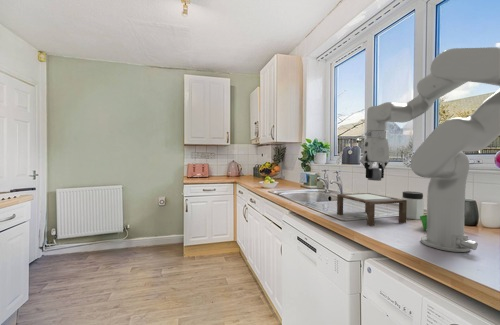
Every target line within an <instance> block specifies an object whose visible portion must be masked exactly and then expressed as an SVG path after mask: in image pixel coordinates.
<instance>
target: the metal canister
mask: <svg viewBox="0 0 500 325" xmlns="http://www.w3.org/2000/svg"><path fill="white" fill-rule="evenodd" d="M371 169H373V175H372V178H371V179H370V178H367V180H368V181H377V182H378V181H382V178H381V175H382V168H378V167H372V168H371Z"/></svg>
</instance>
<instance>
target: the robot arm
mask: <svg viewBox="0 0 500 325" xmlns="http://www.w3.org/2000/svg"><path fill="white" fill-rule="evenodd" d="M429 69H430V73H429V74H428V75H426V76H424V77H423V78H421V79H420V80H419V81H418V82H417V85H416V90H417V92H418V95H417V96H415V97H414V98H412V99H411V100H409V101H407V102H406V103H403V102H394V101H393V102H392V101H388V102H384V103H380V104H379V105H373V106H370V107H368V108H367V109H366V110H367V111H366V131H365V133H364V135H365V139H364V143H363V150H362V157H361V158H360V160H359V161H360V163H361V164H362V166H364V169H365V178H366V179H368V178H370V179H371V178H372V175H373V169H371V168H373V163H377V168H382V175H381V179H384V178H385V177H384V175H385V169H386V168H387V165H388V164H389V163H390V161H391V160H390V150H389V149H390V147H389V146H390V145H389V140H388V139H387V125H388V122H389V123H408V122H410V121H413V120H414V119H415V120H416V119H417V118H418V117H420V116H422V115H424V114H425V113H427V111H428V110H430V108H432V106H433V105H434V103H435V102H436V101H437V100H439V99H440V98H442V97H444V96H445V95H447V94H449V93H451V92H452V91H454V90H456V89H458V88H459V87H461V86H463V85H465V84H466V83H469V82H470V83H479V84H484V85H485V84H486V85H491V86H497V87H498V86H499V87H500V47H499V46H497V47H493V46H491V47H461V48H460V47H456V48H450V49H449V48H447V49H446V50H444V51H441V52H440V53H439V54H437V56H435V57H434V59H433V60H432V62H431V64H430V68H429ZM499 136H500V88H499V89H498V90H497V91H496V92H495V93H494V94H492V95H490V96H489V97H487V98H486V99H485V100H484V101H483V102H482V103H481V104H480V105H479V106H478V107H477V108H476V109H475V110H474V111H473V112H472V113H471V114H470V115H469V116H468V117H453V118H449V119H447V120H444V121H442V122H441V123H440V124H439V125H437V126H436V127H435V128H434V130H432V132H431V133H430V134H429V135H427V137H426V139H424V140H423V142H422V143H420V145H419V146H418V147H417V149H416V150H415V151H414V153H413V155H412V156H411V159H410V168H411V170H412V172H413V173H414V174H415V175H417V176H419V178H420V177H421V178H427V179H429V182H428V187H427V193H426V194H427V195H426V206H427V207H426V215H427V230H426V235H423V236H422V237H421V238H420V242H421V243H422V244H423V245H425V246H427V247H430V248H433V249H436V250H437V249H438V250H442V251H446V252H454V253H455V252H456V253H467V252H470V251H471V250H472V251H476V250H477V248H478V242H477V241H472V240H470V239H469V235H468V234H466V233H465V210H466V208H465V206H466V205H465V204H466V202H465V201H466V186H467V185H466V184H467V180H468V174H469V170H470V160H469V158H468V155H466V153H468V152H469V153H470V152H471V153H472V152H479V151H483V150H484V149H486V148H487V147H488V146H490V145H491V144H492V143H493V142H494V141H495V140H496V139H497V138H499ZM465 152H466V153H465Z"/></svg>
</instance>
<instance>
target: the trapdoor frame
mask: <svg viewBox="0 0 500 325" xmlns="http://www.w3.org/2000/svg"><path fill="white" fill-rule="evenodd" d="M354 194H355V193H342V194H341V193H340V194H338V193H337V195H336V200H337V202H336V214H337V215H338V216H343V215H344V199H346V200H351V201H355V202H359V203H363V204H364V205H365V206H364V213H366V225H367V226H369V227H375V214H376V213H375V208H376V206H375V205H385V204H398V223H400V224H407V218H406V210H407V200H403V199H402V198H397V197H390V196H387V195H381V194H377V193H372V192H371V193H370V192H361V193H359V192H358V193H357V194H371V195H377V196H382V197H387V198H391V199H395V200H383V201H368V200H364V199H359V198H355V197H351V196H346V195H354Z"/></svg>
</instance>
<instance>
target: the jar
mask: <svg viewBox="0 0 500 325" xmlns="http://www.w3.org/2000/svg"><path fill="white" fill-rule="evenodd" d="M401 199H403V200H407V210H406V220H407V219H408V220H416V221H417V220H421V219H420V216H423V215H425V214H424V212H425V211H424V210H425V199H424V193H423V192H420V191H412V190H411V191H409V190H408V191H407V190H406V191H405V190H404V191H402V196H401Z"/></svg>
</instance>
